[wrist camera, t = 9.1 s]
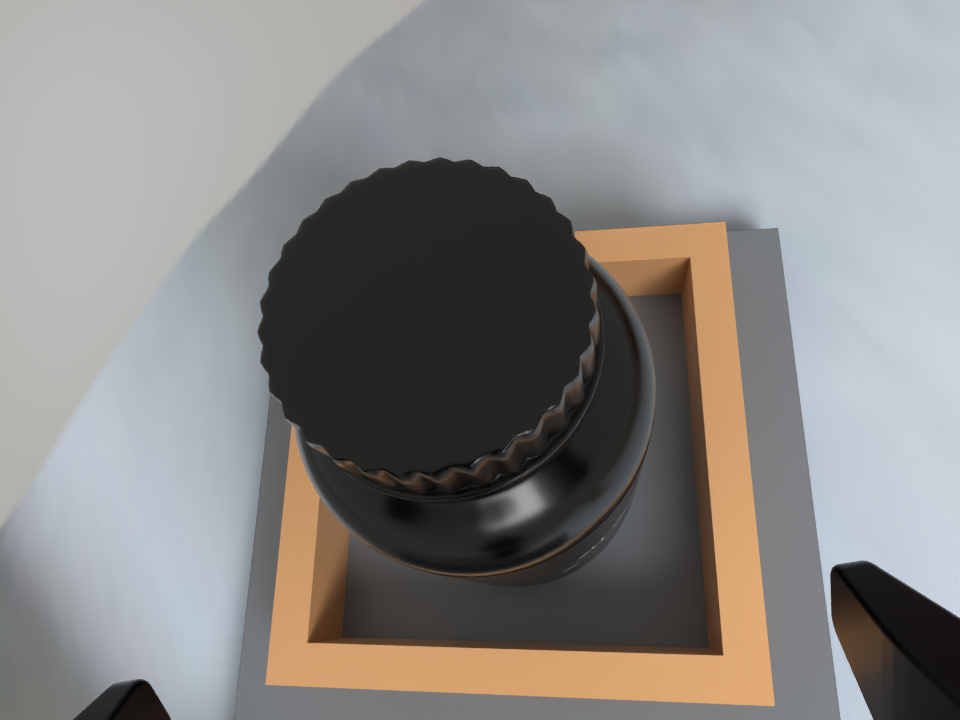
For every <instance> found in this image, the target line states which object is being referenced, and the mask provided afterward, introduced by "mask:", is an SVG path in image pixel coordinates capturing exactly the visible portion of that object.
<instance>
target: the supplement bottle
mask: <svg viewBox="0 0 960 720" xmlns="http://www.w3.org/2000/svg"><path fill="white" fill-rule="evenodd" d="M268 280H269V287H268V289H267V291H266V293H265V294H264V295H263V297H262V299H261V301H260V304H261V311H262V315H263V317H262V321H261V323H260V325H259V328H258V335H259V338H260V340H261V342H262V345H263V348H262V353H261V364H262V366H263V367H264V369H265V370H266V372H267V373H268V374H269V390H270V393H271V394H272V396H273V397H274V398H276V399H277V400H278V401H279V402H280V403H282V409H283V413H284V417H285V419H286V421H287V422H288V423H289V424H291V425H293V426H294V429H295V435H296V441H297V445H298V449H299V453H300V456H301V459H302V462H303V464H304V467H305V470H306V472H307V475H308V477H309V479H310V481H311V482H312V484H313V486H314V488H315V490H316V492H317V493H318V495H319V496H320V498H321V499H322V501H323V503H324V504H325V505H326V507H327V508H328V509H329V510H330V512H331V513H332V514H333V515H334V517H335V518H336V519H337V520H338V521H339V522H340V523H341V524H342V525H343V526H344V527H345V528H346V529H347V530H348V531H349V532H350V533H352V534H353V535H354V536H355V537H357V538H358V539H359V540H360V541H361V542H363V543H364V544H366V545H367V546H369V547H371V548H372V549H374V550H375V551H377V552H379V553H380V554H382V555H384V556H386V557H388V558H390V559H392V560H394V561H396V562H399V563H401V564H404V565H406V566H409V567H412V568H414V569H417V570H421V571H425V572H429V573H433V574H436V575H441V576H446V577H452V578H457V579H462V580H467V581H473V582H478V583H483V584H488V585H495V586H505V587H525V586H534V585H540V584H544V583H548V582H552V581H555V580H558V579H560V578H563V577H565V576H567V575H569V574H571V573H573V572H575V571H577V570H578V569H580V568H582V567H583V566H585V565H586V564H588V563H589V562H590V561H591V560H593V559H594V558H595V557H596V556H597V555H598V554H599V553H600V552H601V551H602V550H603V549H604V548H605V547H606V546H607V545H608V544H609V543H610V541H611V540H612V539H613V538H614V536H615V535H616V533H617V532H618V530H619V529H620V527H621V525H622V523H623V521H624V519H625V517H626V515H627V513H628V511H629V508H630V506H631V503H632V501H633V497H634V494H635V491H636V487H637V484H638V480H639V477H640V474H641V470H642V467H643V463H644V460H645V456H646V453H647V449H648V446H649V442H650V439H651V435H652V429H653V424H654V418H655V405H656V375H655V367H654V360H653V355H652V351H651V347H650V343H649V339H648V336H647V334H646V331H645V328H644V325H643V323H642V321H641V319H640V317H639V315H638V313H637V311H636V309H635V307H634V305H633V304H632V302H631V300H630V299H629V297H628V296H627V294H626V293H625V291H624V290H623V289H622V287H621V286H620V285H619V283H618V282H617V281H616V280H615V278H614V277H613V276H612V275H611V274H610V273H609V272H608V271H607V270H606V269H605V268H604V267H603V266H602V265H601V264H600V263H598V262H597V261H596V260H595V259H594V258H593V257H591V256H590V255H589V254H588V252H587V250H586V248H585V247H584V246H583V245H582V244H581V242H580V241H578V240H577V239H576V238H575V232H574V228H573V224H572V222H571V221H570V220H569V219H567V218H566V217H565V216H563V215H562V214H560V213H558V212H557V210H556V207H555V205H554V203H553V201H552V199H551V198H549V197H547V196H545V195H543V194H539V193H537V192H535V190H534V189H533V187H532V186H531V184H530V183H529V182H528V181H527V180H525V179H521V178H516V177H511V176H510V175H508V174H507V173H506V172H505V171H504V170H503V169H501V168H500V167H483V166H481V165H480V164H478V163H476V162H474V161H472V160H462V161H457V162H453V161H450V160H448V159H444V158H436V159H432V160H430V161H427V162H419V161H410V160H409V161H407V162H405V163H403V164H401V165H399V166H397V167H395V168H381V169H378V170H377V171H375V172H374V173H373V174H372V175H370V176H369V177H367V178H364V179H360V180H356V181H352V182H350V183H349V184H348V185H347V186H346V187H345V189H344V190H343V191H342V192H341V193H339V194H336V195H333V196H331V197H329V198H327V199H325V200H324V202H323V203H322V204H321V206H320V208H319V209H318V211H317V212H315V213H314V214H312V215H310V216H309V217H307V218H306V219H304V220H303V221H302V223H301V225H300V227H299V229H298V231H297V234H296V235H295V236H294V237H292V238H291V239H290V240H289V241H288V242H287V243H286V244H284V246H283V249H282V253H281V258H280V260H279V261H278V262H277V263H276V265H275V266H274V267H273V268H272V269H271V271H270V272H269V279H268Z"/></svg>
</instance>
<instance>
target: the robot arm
mask: <svg viewBox="0 0 960 720" xmlns="http://www.w3.org/2000/svg"><path fill="white" fill-rule="evenodd" d="M830 579H831V613H832V621H833V625H834V628H835V631H836V634H837V636H838V639H839V641H840V643H841V646H842V648H843V650H844V653H845V655H846V657H847V660H848V662H849V664H850V667H851V669H852V671H853V673H854V676H855V678H856V680H857V683H858V685H859V687H860V690H861V692H862V694H863V697H864V699H865V701H866V704H867V706H868V708H869V710H870V713H871V715H872V717H873V720H960V618H959V617H957V616H956V615H954V614H953V613H951V612H950V611H948V610H946V609H945V608H943V607H942V606H940V605H938V604H937V603H935V602H934V601H932V600H930V599H929V598H927V597H926V596H924V595H922V594H921V593H919V592H918V591H916V590H914V589H913V588H911V587H910V586H908V585H906V584H905V583H903V582H902V581H900V580H898V579H897V578H895V577H894V576H892V575H891V574H889V573H887V572H886V571H884V570H883V569H881V568H879V567H878V566H876V565H875V564H873V563H871V562H868V561H857V562H850V563H844V564H838V565H836V566H834V567H833V568H832V570H831V575H830ZM74 720H171V718H170V716H169V714H168V713H167V711H166V709H165V708H164V706H163V705H162V703H161V701H160V700H159V698H158V696H157V695H156V693H155V691H154V690H153V688H152V687H151V685H150V684H149V683H148V682H147V681H145V680H143V679H137V680H131V681H125V682H119V683H116V684H113V685H112V686H110V687H109V688H108V689H107V690H105V691H104V692H103V693H102V694H101V695H100V696H99V697H98V698H97V699H96V700H94V701H93V702H92V703H91V704H90V705H89V706H88V707H87V708H86V709H85V710H83V711H82V712H81V713H80V714H79V715H78V716H77V717H76V718H75V719H74Z"/></svg>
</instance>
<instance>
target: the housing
mask: <svg viewBox="0 0 960 720" xmlns="http://www.w3.org/2000/svg"><path fill="white" fill-rule="evenodd" d="M575 238H576V239H577V240H578V241H580V242H581V244H582V245H583V246H584V247H585V248H586V250H587V252H588V254H589V255H590V256H591V257H593V258H594V259H595V260H596V261H597V262H598V263H600V264H601V265H602V266H603V267H604V268H605V269H606V270H607V271H608V272H609V273H610V274H611V275H612V276H613V277H614V278H615V280H616V281H617V282H618V283H619V285H620V286H621V287H622V289H623V290H624V291H625V293H626V294H627V296H628V297H629V299H630V300H631V302H632V304H633V305H634V307H635V309H636V311H637V313H638V315H639V317H640V319H641V321H642V323H643V325H644V328H645V331H646V334H647V336H648V339H649V343H650V347H651V351H652V355H653V360H654V367H655V375H656V405H655V418H654V424H653V429H652V435H651V439H650V442H649V446H648V449H647V453H646V456H645V460H644V463H643V467H642V470H641V474H640V477H639V480H638V484H637V487H636V491H635V494H634V497H633V501H632V503H631V506H630V508H629V511H628V513H627V515H626V517H625V519H624V521H623V523H622V525H621V527H620V529H619V530H618V532H617V533H616V535H615V536H614V538H613V539H612V540H611V541H610V543H609V544H608V545H607V546H606V547H605V548H604V549H603V550H602V551H601V552H600V553H599V554H598V555H597V556H596V557H595V558H594V559H593V560H591V561H590V562H589V563H588V564H586V565H585V566H583V567H582V568H580V569H578V570H577V571H575V572H573V573H571V574H569V575H567V576H565V577H563V578H560V579H558V580H555V581H552V582H548V583H544V584H540V585H534V586H525V587H505V586H495V585H488V584H483V583H478V582H473V581H467V580H462V579H457V578H452V577H446V576H441V575H436V574H433V573H429V572H425V571H421V570H417V569H414V568H412V567H409V566H406V565H404V564H401V563H399V562H396V561H394V560H392V559H390V558H388V557H386V556H384V555H382V554H380V553H379V552H377V551H375V550H374V549H372V548H371V547H369V546H367V545H366V544H364V543H363V542H361V541H360V540H359V539H358V538H357V537H355V536H354V535H353V534H352V533H350V532H349V531H348V530H347V529H346V528H345V527H344V526H343V525H342V524H341V523H340V522H339V521H338V520H337V519H336V518H335V517H334V515H333V514H332V513H331V512H330V510H329V509H328V508H327V507H326V505H325V504H324V503H323V501H322V499H321V498H320V496H319V495H318V493H317V492H316V490H315V488H314V486H313V484H312V482H311V481H310V479H309V477H308V475H307V472H306V470H305V467H304V464H303V462H302V459H301V456H300V453H299V449H298V445H297V441H296V435H295V429H294V426H293V425H291V424H289V423H288V422H287V421H286V419H285V417H284V413H283V409H282V403H280V402H279V401H278V400H277V399H276V398H274V397H273V396H272V394H270V403H269V412H268V420H267V429H266V438H265V447H264V456H263V465H262V474H261V483H260V492H259V501H258V510H257V518H256V527H255V536H254V545H253V554H252V563H251V572H250V581H249V590H248V599H247V608H246V617H245V625H244V634H243V643H242V652H241V661H240V670H239V679H238V688H237V697H236V706H235V715H234V720H841V719H840V712H839V704H838V696H837V688H836V680H835V672H834V664H833V656H832V649H831V641H830V633H829V625H828V617H827V609H826V601H825V594H824V586H823V578H822V570H821V562H820V554H819V546H818V539H817V531H816V523H815V515H814V507H813V499H812V491H811V483H810V476H809V468H808V460H807V452H806V444H805V436H804V428H803V421H802V413H801V405H800V397H799V389H798V381H797V373H796V366H795V358H794V350H793V342H792V334H791V326H790V318H789V310H788V303H787V295H786V287H785V279H784V271H783V263H782V255H781V248H780V240H779V232H778V228H773V229H757V230H742V231H726V222H712V223H697V224H682V225H666V226H651V227H636V228H621V229H605V230H590V231H575Z"/></svg>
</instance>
